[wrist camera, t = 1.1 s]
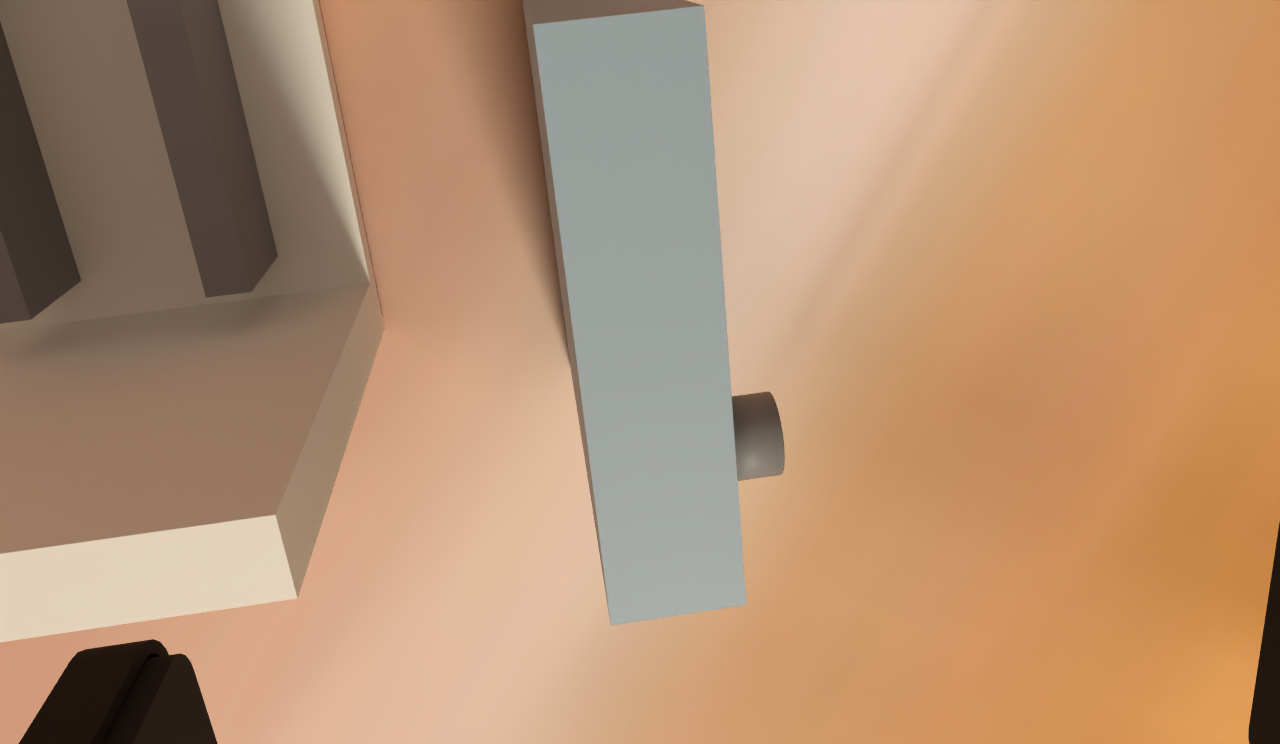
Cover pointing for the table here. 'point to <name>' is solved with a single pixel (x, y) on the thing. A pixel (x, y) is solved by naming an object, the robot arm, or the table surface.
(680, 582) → the door panel
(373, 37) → the table surface
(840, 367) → the table surface
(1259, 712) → the robot arm
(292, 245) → the cabinet base
